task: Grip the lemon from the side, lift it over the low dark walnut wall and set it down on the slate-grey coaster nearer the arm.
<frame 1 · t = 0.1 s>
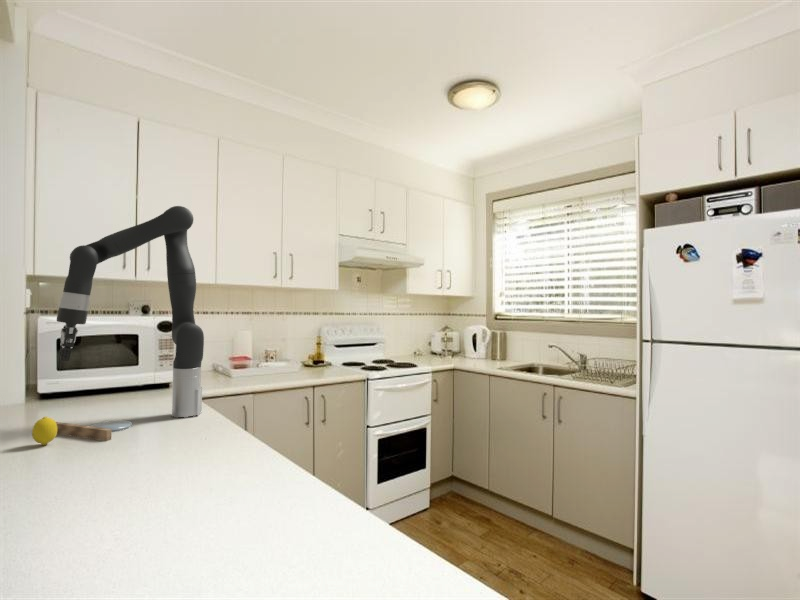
hand: (63, 359, 139), 22 cm above the counter, tool pointing down, fingers open, 8 cm apart
lemon: (44, 446, 125), on the counter
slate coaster: (109, 427, 143), on the counter
walnut wall: (79, 435, 134), on the counter
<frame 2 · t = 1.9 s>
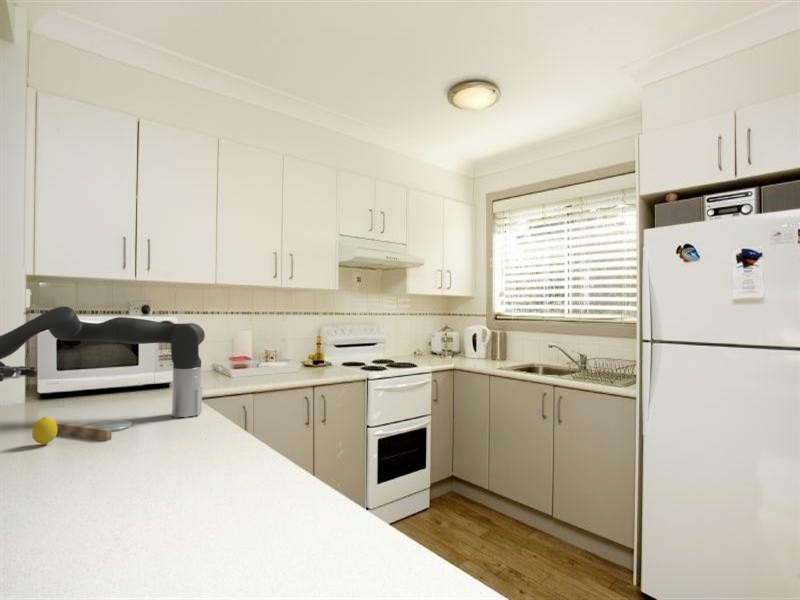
hand: (19, 375, 129), 19 cm above the counter, tool horizontal, fingers open, 8 cm apart
nothing on the counter moved.
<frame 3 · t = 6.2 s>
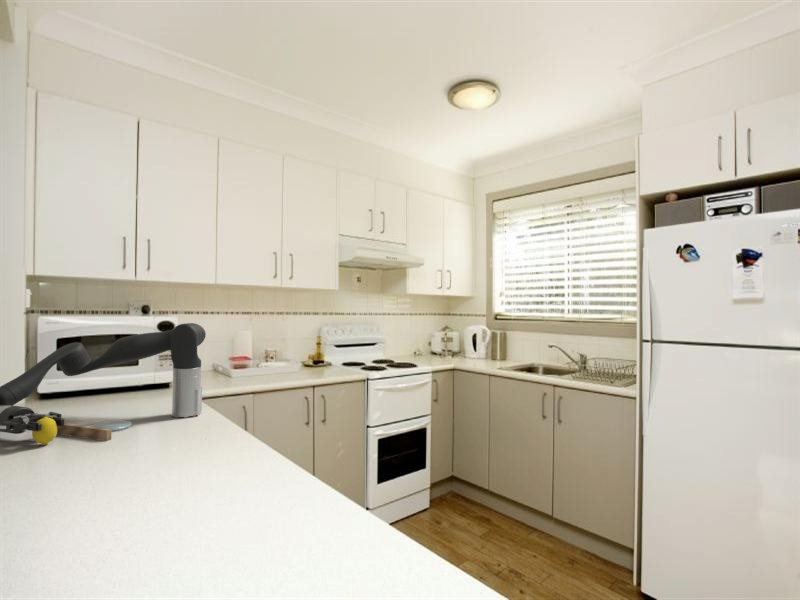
hand: (51, 424, 124), 6 cm above the counter, tool horizontal, fingers closed on lemon, 5 cm apart
lemon: (44, 446, 125), on the counter, touching gripper
when the fingers open (8 cm above the counter, at t = 11.4 s): lemon drops 1 cm, resting on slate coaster.
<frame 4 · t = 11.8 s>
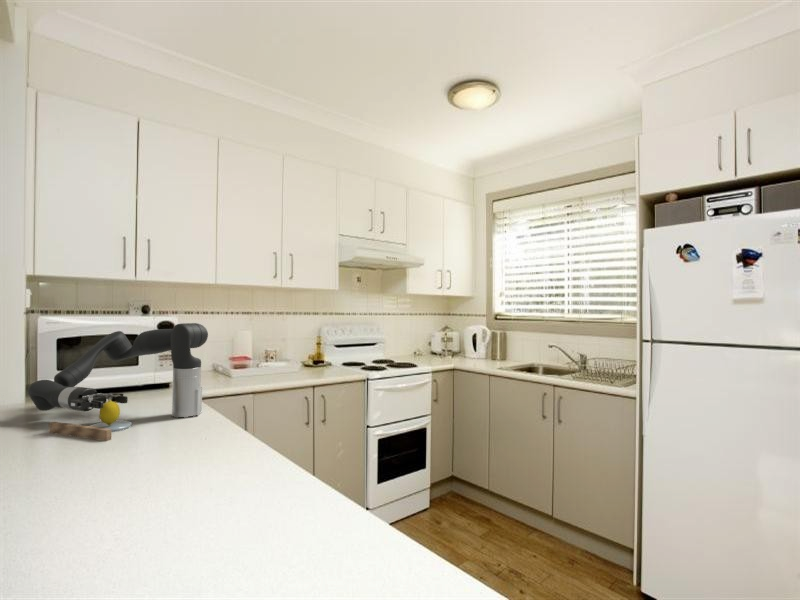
hand: (114, 402, 143), 8 cm above the counter, tool horizontal, fingers open, 8 cm apart
lemon: (109, 425, 143), point 1 cm above the counter, touching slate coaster
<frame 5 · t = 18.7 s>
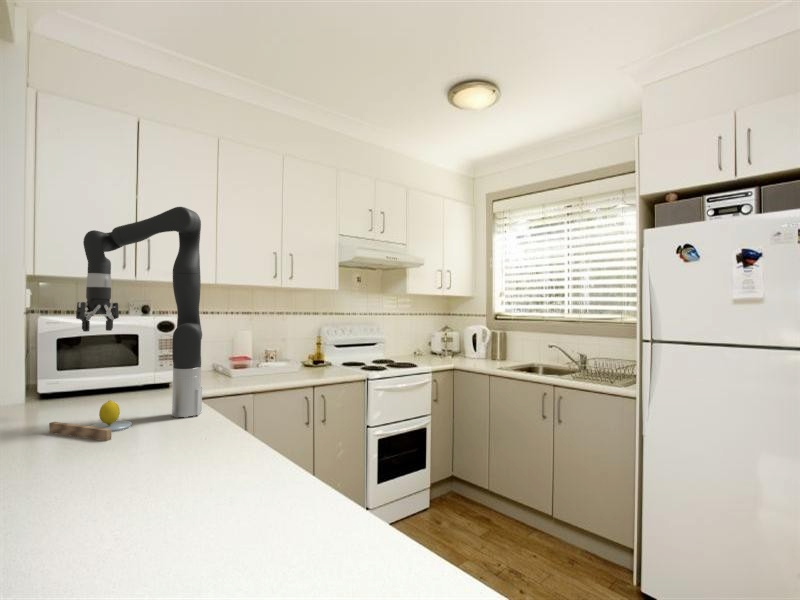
hand: (97, 331, 162), 30 cm above the counter, tool pointing down, fingers open, 8 cm apart
nothing on the counter moved.
at the end: lemon inside the target area on the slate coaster (0.1 cm from its centre), point 0.6 cm above the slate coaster's base; the gripper is holding nothing; lemon moved 19.5 cm from its start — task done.
